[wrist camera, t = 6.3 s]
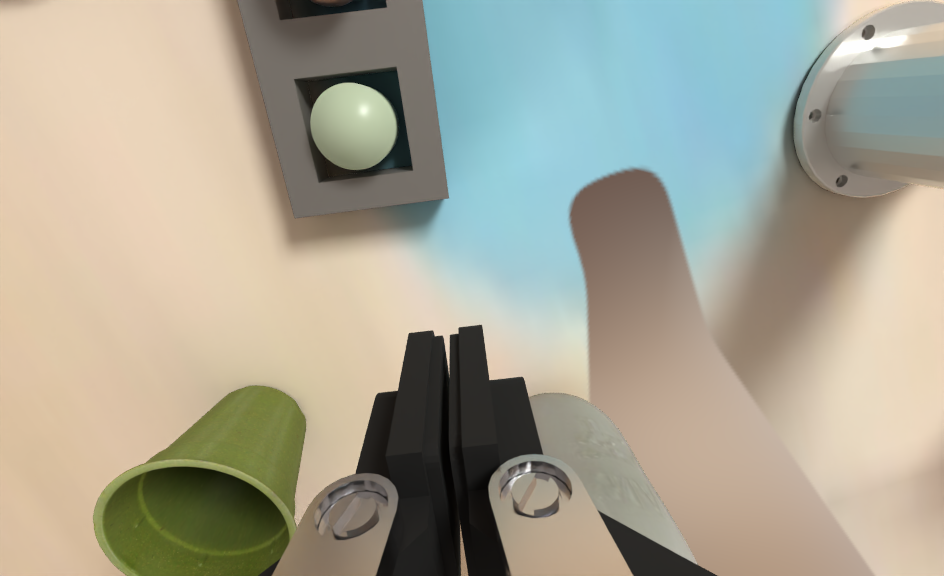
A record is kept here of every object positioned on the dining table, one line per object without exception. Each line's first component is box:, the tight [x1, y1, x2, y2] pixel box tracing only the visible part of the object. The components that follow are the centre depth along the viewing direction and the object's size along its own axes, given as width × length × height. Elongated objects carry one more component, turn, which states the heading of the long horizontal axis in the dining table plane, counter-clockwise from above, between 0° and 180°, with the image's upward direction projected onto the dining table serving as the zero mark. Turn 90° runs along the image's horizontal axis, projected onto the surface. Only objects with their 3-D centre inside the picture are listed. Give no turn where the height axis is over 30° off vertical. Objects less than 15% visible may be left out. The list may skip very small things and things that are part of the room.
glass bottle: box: [529, 393, 698, 565], centre depth 28 cm, size 10×10×28 cm
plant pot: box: [93, 386, 306, 576], centre depth 33 cm, size 12×12×11 cm
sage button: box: [310, 83, 399, 170], centre depth 29 cm, size 5×5×4 cm
